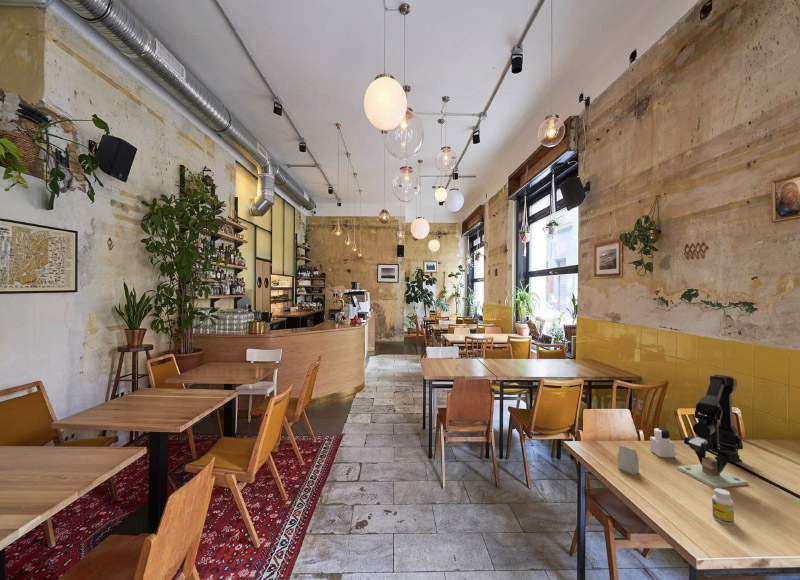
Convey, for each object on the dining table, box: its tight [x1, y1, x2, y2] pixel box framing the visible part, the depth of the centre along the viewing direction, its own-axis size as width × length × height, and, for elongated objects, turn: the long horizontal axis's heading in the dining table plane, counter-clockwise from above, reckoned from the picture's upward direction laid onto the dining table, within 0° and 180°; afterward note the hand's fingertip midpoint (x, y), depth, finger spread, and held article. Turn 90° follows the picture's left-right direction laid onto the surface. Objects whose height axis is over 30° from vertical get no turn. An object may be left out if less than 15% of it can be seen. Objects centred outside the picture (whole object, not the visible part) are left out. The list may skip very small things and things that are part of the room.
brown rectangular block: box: [702, 456, 720, 476], centre depth 148 cm, size 4×4×6 cm
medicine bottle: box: [649, 427, 676, 458], centre depth 170 cm, size 7×7×12 cm
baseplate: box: [676, 463, 749, 489], centre depth 148 cm, size 16×16×2 cm
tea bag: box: [617, 444, 640, 476], centre depth 154 cm, size 4×7×10 cm, turn 29°
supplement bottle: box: [711, 488, 735, 525], centre depth 119 cm, size 5×5×10 cm
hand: (710, 468), depth 148 cm, fingers open, 7 cm apart
